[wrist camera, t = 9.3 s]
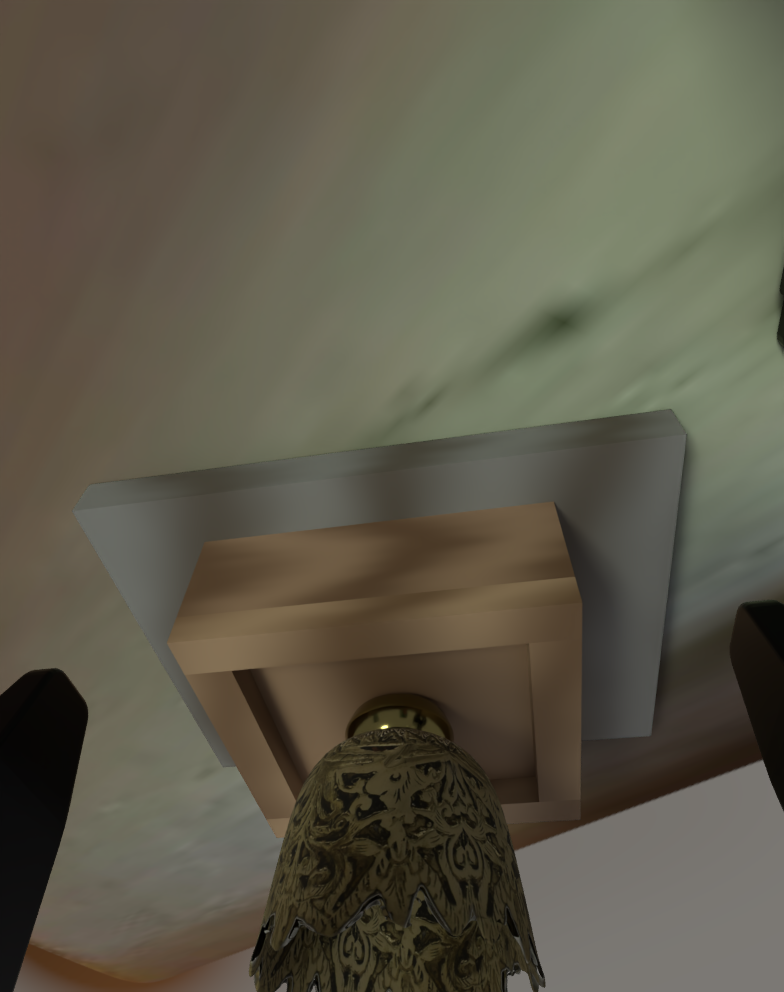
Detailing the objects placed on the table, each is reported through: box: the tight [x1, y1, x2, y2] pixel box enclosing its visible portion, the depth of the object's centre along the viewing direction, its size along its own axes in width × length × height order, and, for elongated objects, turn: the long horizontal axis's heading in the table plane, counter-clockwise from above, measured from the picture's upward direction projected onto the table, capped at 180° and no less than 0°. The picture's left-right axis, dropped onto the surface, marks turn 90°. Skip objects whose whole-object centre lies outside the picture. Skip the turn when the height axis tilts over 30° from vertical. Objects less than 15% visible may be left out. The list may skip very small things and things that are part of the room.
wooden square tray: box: [72, 409, 687, 838], centre depth 25 cm, size 20×16×6 cm
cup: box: [249, 693, 545, 992], centre depth 20 cm, size 8×7×8 cm
